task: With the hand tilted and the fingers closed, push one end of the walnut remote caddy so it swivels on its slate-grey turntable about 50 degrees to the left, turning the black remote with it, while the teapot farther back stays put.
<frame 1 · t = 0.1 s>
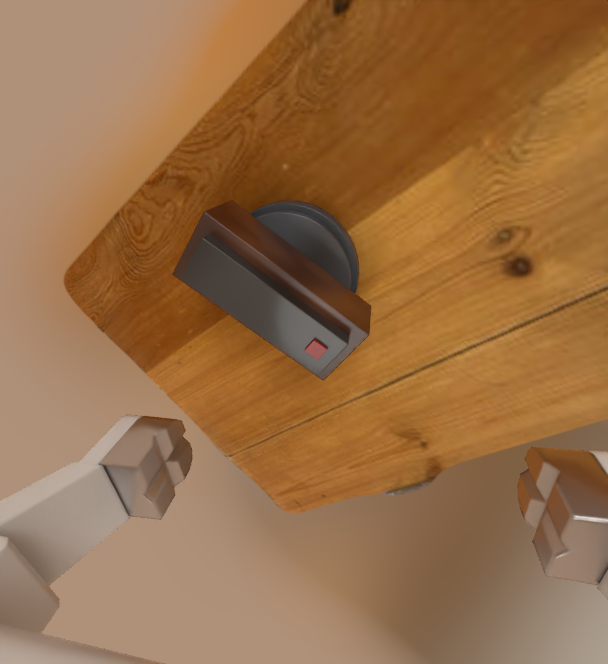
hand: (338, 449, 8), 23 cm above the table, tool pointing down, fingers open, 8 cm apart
turntable base: (292, 270, 31), on the table
remote caddy: (277, 292, 27), point 5 cm above the table, hinge at 0.0°
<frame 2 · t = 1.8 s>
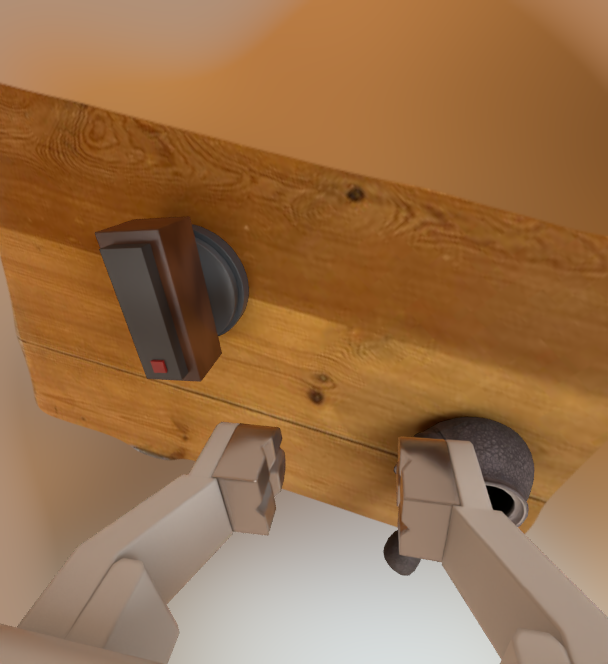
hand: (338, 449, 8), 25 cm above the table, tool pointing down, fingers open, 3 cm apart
turntable base: (193, 282, 36), on the table
remote caddy: (166, 303, 31), point 5 cm above the table, hinge at 0.0°
teapot: (436, 459, 42), on the table
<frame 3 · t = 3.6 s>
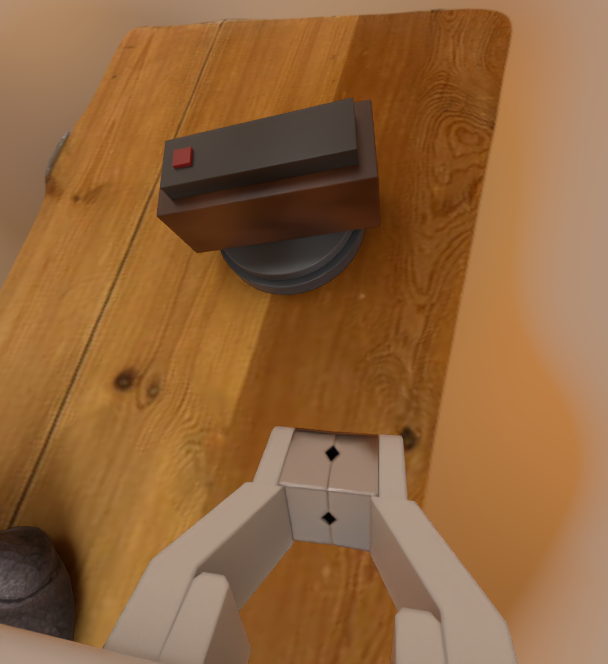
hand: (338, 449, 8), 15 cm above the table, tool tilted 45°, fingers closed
turntable base: (292, 227, 28), on the table
remote caddy: (271, 183, 23), point 5 cm above the table, hinge at 0.0°
teapot: (7, 569, 26), on the table
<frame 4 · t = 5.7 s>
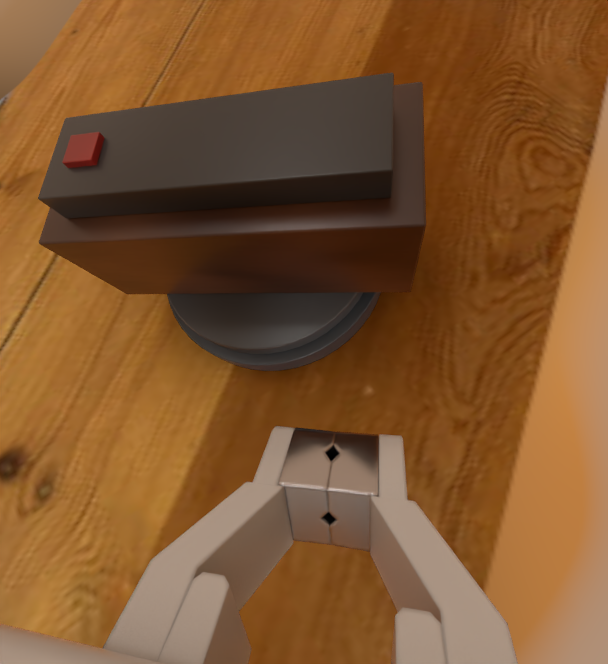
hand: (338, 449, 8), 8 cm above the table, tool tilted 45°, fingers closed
turntable base: (276, 265, 19), on the table
remote caddy: (242, 206, 14), point 5 cm above the table, hinge at 0.0°
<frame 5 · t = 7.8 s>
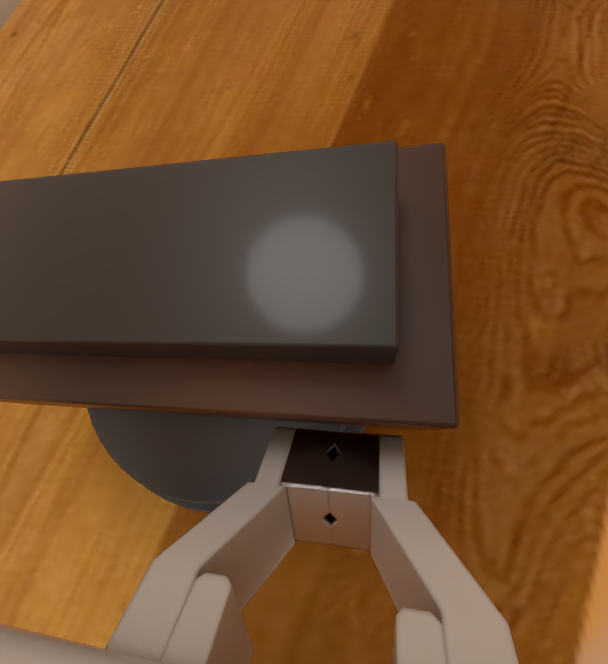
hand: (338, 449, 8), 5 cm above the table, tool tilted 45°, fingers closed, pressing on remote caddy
turntable base: (242, 351, 15), on the table
remote caddy: (173, 310, 10), point 5 cm above the table, hinge at 0.5°, touching gripper
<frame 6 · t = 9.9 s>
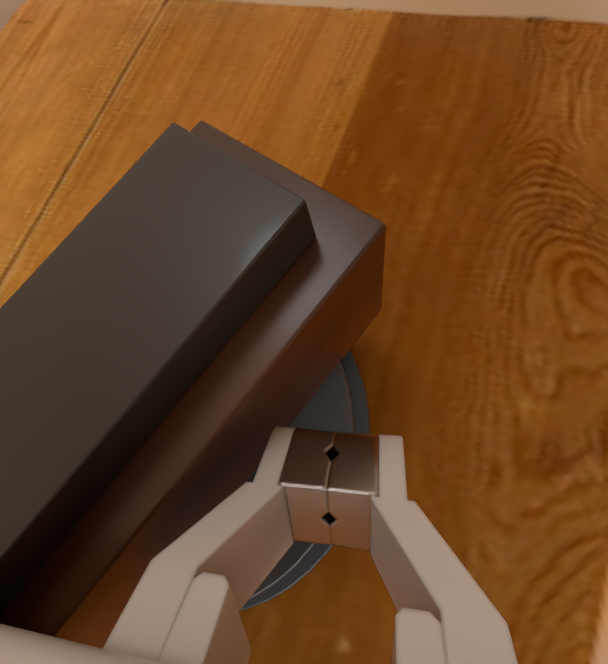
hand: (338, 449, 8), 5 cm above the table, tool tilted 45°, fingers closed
turntable base: (221, 423, 14), on the table
remote caddy: (138, 418, 9), point 5 cm above the table, hinge at 54.6°
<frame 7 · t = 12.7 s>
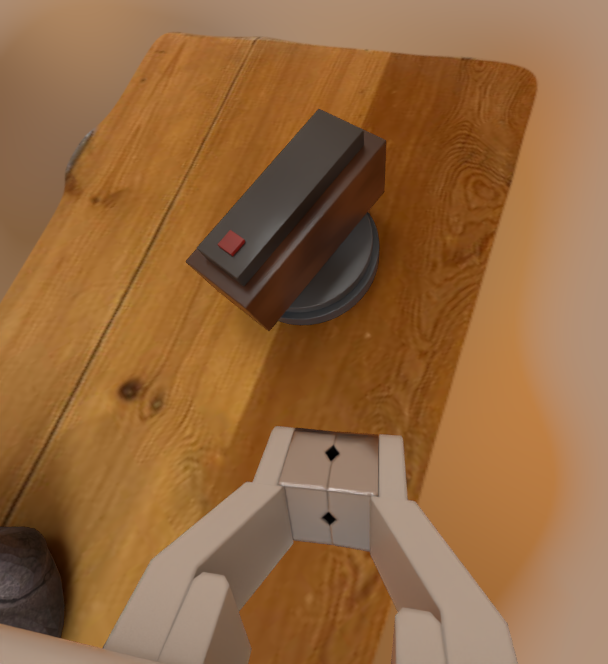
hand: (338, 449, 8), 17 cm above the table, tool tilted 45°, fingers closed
turntable base: (306, 257, 29), on the table
remote caddy: (292, 221, 24), point 5 cm above the table, hinge at 54.6°
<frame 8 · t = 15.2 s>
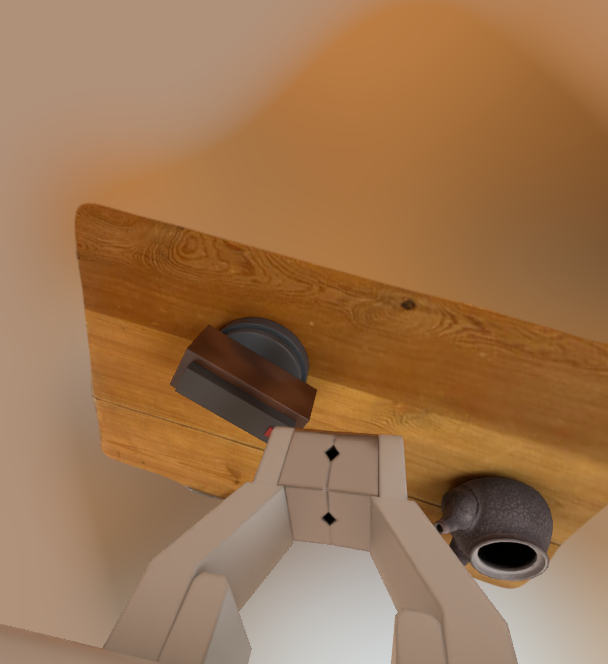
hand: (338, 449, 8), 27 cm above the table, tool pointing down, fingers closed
turntable base: (260, 361, 42), on the table
remote caddy: (245, 388, 37), point 5 cm above the table, hinge at 54.6°
teapot: (464, 507, 47), on the table
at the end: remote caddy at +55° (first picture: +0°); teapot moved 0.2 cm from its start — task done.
